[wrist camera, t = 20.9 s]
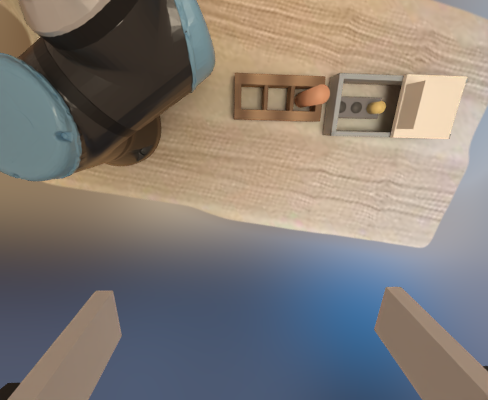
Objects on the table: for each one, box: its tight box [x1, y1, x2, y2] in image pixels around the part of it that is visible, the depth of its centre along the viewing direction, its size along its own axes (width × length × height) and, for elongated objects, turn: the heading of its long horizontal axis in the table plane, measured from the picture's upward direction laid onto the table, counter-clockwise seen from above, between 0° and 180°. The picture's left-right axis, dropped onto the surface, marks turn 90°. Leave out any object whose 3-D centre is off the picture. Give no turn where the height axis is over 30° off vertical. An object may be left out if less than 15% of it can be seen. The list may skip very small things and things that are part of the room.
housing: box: [323, 73, 468, 139], centre depth 42 cm, size 22×10×4 cm, turn 88°
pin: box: [295, 84, 330, 108], centre depth 38 cm, size 3×3×10 cm
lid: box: [390, 74, 467, 139], centre depth 37 cm, size 10×10×5 cm
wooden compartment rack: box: [234, 73, 325, 121], centre depth 41 cm, size 15×7×3 cm, turn 88°
